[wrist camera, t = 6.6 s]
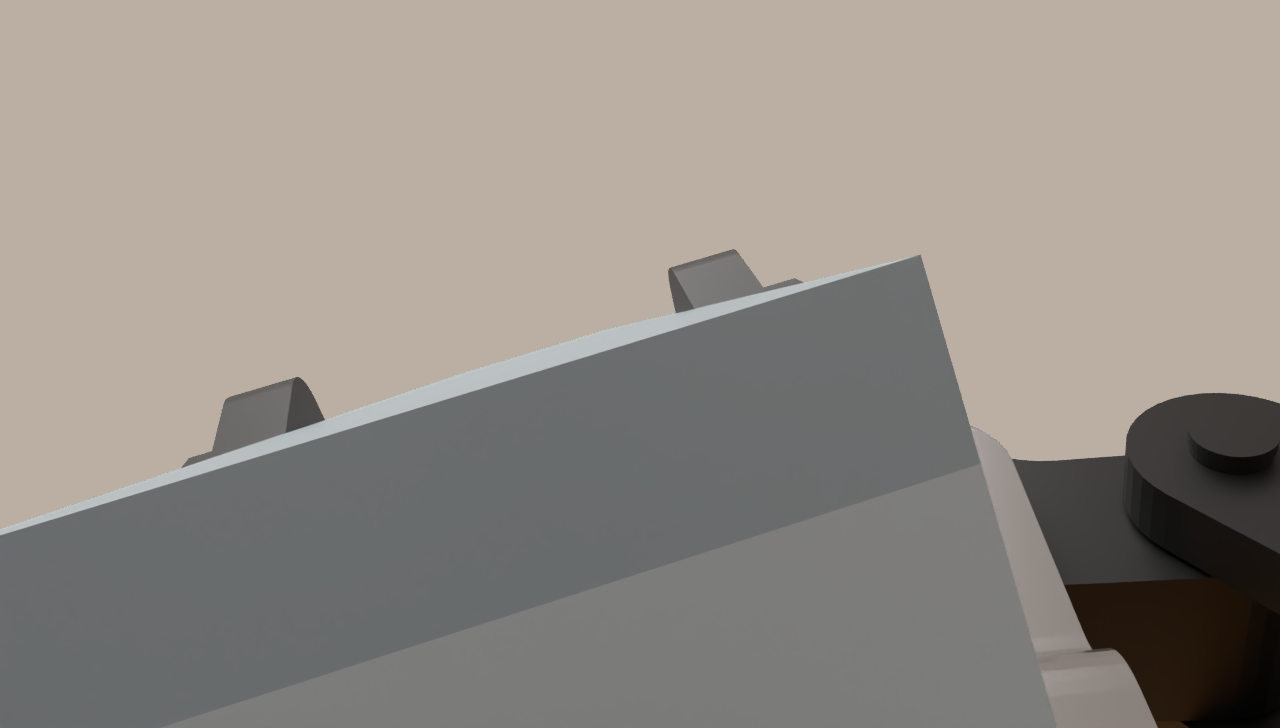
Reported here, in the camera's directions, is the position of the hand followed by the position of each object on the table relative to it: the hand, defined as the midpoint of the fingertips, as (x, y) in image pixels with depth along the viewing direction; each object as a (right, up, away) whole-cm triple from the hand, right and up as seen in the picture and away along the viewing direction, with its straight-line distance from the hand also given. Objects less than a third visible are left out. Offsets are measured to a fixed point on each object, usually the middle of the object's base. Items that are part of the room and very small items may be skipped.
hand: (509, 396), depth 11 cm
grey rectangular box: (0, -3, +5) cm, 6 cm away
